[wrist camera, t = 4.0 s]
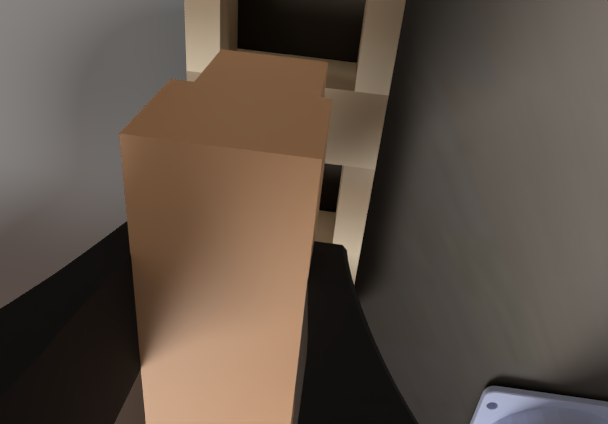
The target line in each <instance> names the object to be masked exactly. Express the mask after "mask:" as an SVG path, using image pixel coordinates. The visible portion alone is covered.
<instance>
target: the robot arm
mask: <svg viewBox="0 0 608 424" xmlns="http://www.w3.org/2000/svg"><path fill="white" fill-rule="evenodd" d="M140 369H141V363H140V352H139V341H138V329H137V318H136V306H135V295H134V283H133V272H132V260H131V254H130V245H129V234H128V223H127V222H125V223H124V224H123V225H121V226H120V227H119V228H117V229H116V230H115V231H113V232H112V233H110V234H109V235H108V236H107V237H105V238H104V239H102V240H101V241H100V242H98V243H97V244H96V245H94V246H93V247H92V248H90V249H89V250H87V251H86V252H85V253H83V254H82V255H81V256H79V257H78V258H76V259H75V260H74V261H72V262H71V263H69V264H68V265H66V266H65V267H64V268H62V269H61V270H59V271H58V272H57V273H55V274H54V275H52V276H51V277H49V278H48V279H46V280H45V281H43V282H41V283H40V284H39V285H37V286H35V287H34V288H32V289H31V290H29V291H28V292H26V293H25V294H23V295H21V296H20V297H18V298H17V299H15V300H14V301H12V302H10V303H9V304H7V305H6V306H4V307H2V308H1V309H0V424H114V423H115V421H116V419H117V416H118V414H119V412H120V410H121V408H122V406H123V404H124V402H125V400H126V398H127V396H128V394H129V392H130V390H131V388H132V386H133V384H134V382H135V380H136V377H137V375H138V373H139V371H140ZM293 424H418V422H417V420H416V419H415V417H414V415H413V414H412V412H411V411H410V409H409V407H408V406H407V404H406V402H405V400H404V398H403V397H402V395H401V393H400V391H399V389H398V388H397V386H396V384H395V382H394V380H393V378H392V376H391V374H390V372H389V370H388V368H387V366H386V364H385V362H384V360H383V358H382V356H381V354H380V351H379V349H378V347H377V345H376V343H375V340H374V338H373V336H372V333H371V331H370V329H369V326H368V323H367V321H366V318H365V315H364V313H363V310H362V308H361V305H360V302H359V299H358V296H357V293H356V290H355V286H354V283H353V279H352V275H351V271H350V267H349V262H348V255H347V250H346V248H345V247H344V246H343V245H340V244H333V243H325V242H318V241H314V246H313V251H312V257H311V263H310V269H309V275H308V280H307V288H306V297H305V306H304V314H303V323H302V332H301V341H300V349H299V358H298V367H297V375H296V384H295V396H294V418H293ZM470 424H608V402H607V401H600V400H593V399H586V398H579V397H572V396H565V395H558V394H551V393H543V392H536V391H529V390H522V389H515V388H508V387H501V386H490V387H487V388H486V389H485V390H484V391H483V393H482V395H481V398H480V400H479V403H478V405H477V408H476V410H475V412H474V415H473V417H472V420H471V422H470Z"/></svg>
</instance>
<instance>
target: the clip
mask: <svg viewBox="0 0 608 424" xmlns="http://www.w3.org/2000/svg"><path fill="white" fill-rule="evenodd" d="M327 69H328V62H324V61H316V60H308V59H299V58H291V57H283V56H274V55H266V54H258V53H249V52H241V51H233V50H224V49H221V50H220V51H219V52H218V54H217V55H216V56H215V57H214V58H213V60H212V61H211V62H210V63H209V65H208V66H207V67H206V68H205V69H204V71H203V72H202V73H201V74H200V75H199V77H198V78H197V79H196V80H195V81H194V82H192V81H184V80H176V79H170V80H169V82H168V83H167V84H166V85H165V86H164V87H163V88H162V89H161V90H160V91H159V92H158V93H157V94H156V95H155V96H154V97H153V98H152V100H150V102H149V103H148V104H147V105H146V106H145V107H144V108H143V109H142V110H141V111H140V112H139V113H138V114H137V115H136V116H135V117H134V118H133V119H132V121H131V122H130V123H129V124H128V125H127V126H126V127H125V128H124V129H123V130H122V131H121V132H120V133H119V137H120V147H121V158H122V168H123V180H124V190H125V201H126V213H127V223H128V234H129V245H130V254H131V260H132V272H133V283H134V295H135V306H136V318H137V329H138V341H139V352H140V363H141V374H142V385H143V396H144V407H145V418H146V424H292V421H293V414H294V396H295V384H296V375H297V367H298V358H299V349H300V341H301V332H302V323H303V314H304V306H305V297H306V288H307V280H308V275H309V269H310V263H311V257H312V251H313V246H314V241H315V238H316V230H317V222H318V214H319V206H320V197H321V189H322V181H323V173H324V165H325V157H326V148H327V140H328V132H329V124H330V116H331V108H332V99H330V98H324V96H325V87H326V78H327Z"/></svg>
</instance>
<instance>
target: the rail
mask: <svg viewBox="0 0 608 424" xmlns="http://www.w3.org/2000/svg"><path fill="white" fill-rule="evenodd" d="M184 1H185V2H184V4H185V32H186V33H185V34H186V63H187V64H186V65H187V81H192V82H194V81H195V80H196V79H197V78H198V77H199V75H200V74H201V73H202V72H203V71H204V69H205V68H206V67H207V66H208V65H209V63H210V62H211V61H212V60H213V58H214V57H215V56H216V55H217V54H218V52H219V51H220V50H221V49H224V50H233V51H241V52H249V53H258V54H266V55H274V56H283V57H291V58H299V59H308V60H316V61H324V62H328V69H327V78H326V87H325V96H324V98H330V99H332V108H331V116H330V124H329V132H328V140H327V148H326V157H325V163H327V164H335V165H342V171H341V178H340V185H339V192H338V199H337V206H336V212H328V211H321V210H319V214H318V222H317V230H316V238H315V241H318V242H325V243H333V244H340V245H343V246H344V247H345V248H346V250H347V255H348V262H349V267H350V271H351V275H352V279H353V283H354V284H355V278H356V273H357V267H358V262H359V256H360V251H361V245H362V240H363V234H364V229H365V223H366V218H367V212H368V207H369V201H370V196H371V190H372V185H373V179H374V173H375V168H376V162H377V157H378V151H379V146H380V140H381V135H382V129H383V124H384V118H385V113H386V107H387V102H388V96H389V91H390V85H391V80H392V74H393V69H394V63H395V58H396V52H397V47H398V41H399V36H400V30H401V25H402V19H403V14H404V8H405V3H406V0H366V3H365V10H364V17H363V24H362V31H361V38H360V45H359V52H358V59H357V63H355V62H346V61H338V60H330V59H321V58H313V57H305V56H296V55H288V54H280V53H271V52H263V51H255V50H246V49H238V48H237V34H238V0H184Z"/></svg>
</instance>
